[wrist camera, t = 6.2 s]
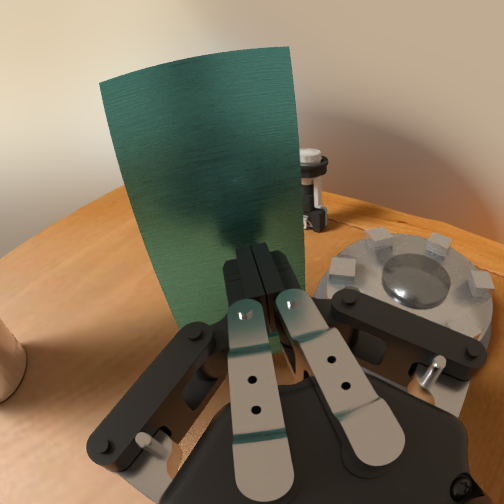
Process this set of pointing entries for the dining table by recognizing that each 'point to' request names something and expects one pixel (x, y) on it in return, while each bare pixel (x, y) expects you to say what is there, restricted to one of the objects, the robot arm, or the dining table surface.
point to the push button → (313, 188)
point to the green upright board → (255, 193)
